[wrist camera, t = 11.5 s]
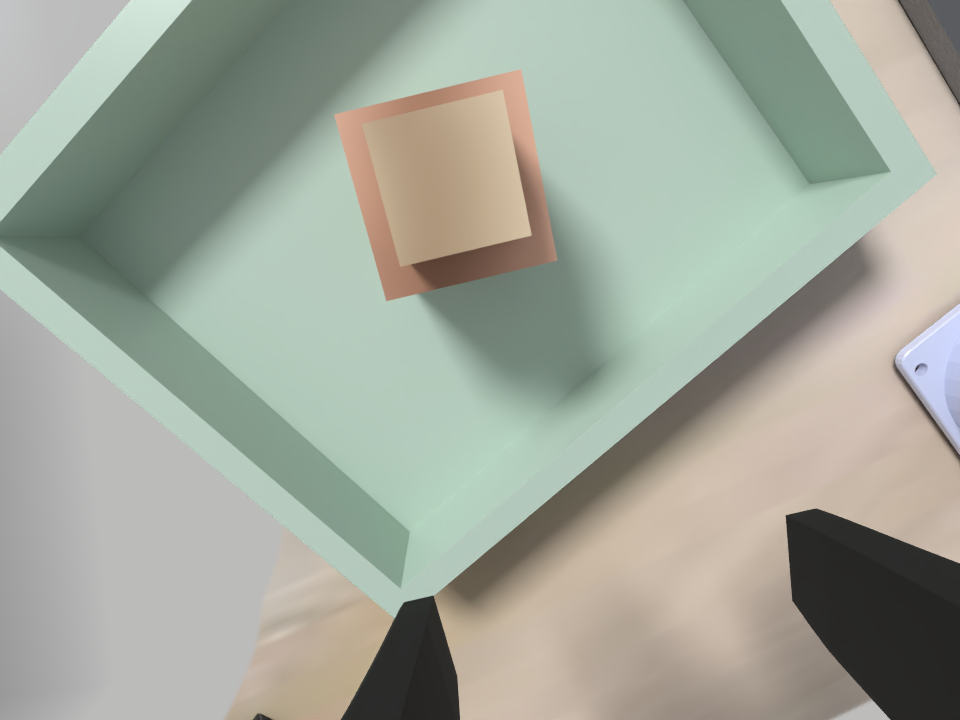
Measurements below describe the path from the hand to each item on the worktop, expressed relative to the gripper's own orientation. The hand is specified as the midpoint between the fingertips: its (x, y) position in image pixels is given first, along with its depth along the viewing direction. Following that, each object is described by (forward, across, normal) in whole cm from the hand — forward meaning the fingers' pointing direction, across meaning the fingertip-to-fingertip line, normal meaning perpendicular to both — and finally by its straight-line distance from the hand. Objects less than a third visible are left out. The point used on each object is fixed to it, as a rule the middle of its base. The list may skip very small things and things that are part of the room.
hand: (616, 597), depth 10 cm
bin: (+10, +1, -8) cm, 13 cm away
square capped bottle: (+10, +1, -9) cm, 13 cm away
